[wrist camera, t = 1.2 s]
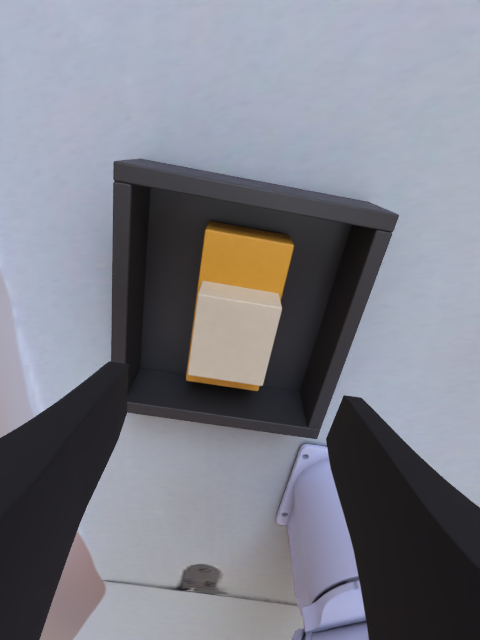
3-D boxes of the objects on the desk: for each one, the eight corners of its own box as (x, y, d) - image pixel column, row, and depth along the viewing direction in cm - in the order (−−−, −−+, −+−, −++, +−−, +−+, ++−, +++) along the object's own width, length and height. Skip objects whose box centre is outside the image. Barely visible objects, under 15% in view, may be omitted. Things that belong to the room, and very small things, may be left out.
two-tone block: (257, 366, 23) (259, 413, 19) (191, 356, 23) (180, 401, 19) (288, 233, 19) (300, 255, 15) (209, 218, 19) (200, 237, 15)
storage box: (306, 396, 25) (316, 439, 21) (130, 370, 24) (110, 410, 20) (369, 202, 19) (400, 214, 15) (139, 158, 18) (113, 160, 14)
